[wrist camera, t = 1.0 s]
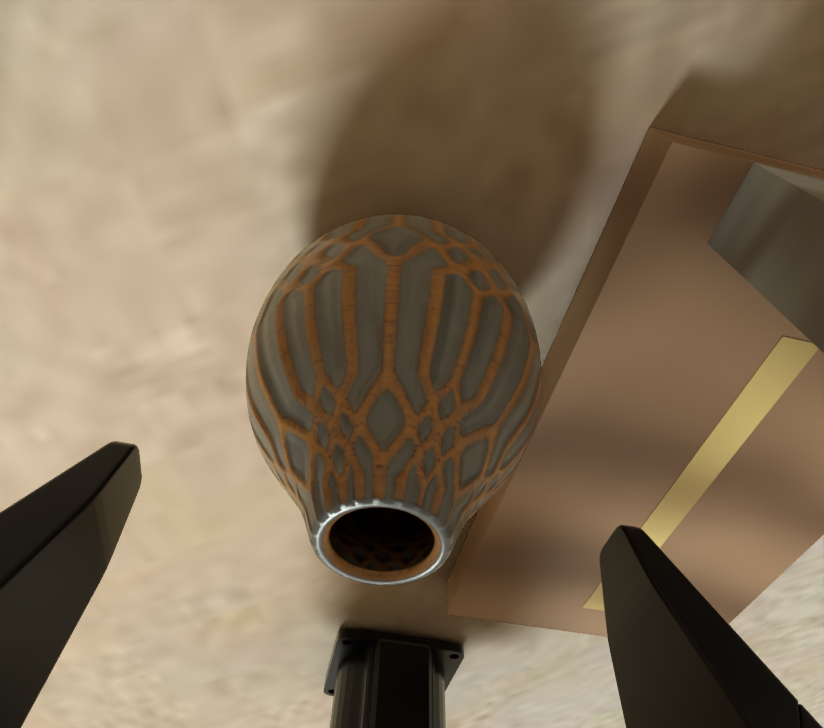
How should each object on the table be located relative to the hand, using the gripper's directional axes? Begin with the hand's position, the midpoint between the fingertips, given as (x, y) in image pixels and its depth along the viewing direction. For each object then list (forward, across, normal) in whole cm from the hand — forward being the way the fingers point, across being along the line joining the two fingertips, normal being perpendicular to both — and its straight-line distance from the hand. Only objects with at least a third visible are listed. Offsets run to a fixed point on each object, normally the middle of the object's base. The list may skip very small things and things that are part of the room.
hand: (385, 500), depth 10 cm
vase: (+8, 0, 0) cm, 8 cm away
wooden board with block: (+8, -11, +4) cm, 14 cm away
